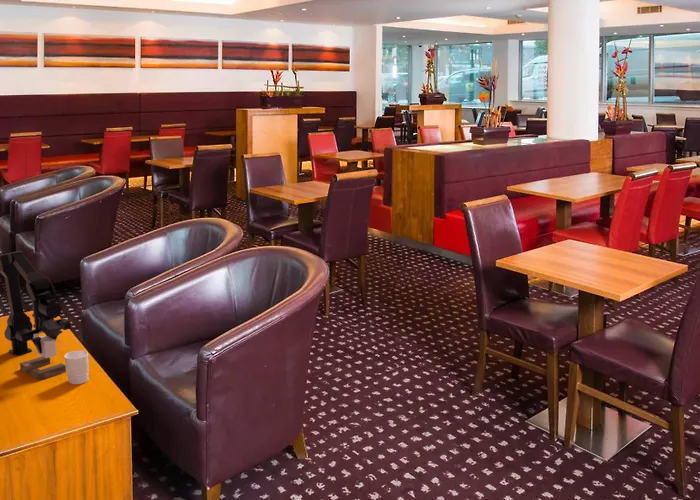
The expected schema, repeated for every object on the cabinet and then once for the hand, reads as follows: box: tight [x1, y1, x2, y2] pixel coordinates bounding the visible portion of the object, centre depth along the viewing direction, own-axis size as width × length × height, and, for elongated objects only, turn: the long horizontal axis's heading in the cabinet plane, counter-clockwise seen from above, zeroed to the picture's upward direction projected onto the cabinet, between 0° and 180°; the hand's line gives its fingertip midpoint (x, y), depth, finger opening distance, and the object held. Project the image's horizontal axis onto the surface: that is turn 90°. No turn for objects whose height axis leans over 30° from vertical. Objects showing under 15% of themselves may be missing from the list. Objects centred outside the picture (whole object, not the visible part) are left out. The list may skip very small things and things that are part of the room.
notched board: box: [19, 355, 67, 381], centre depth 267 cm, size 14×10×2 cm
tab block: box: [35, 334, 58, 358], centre depth 267 cm, size 7×4×6 cm, turn 50°
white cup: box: [63, 350, 90, 385], centre depth 258 cm, size 8×8×10 cm
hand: (46, 351), depth 267 cm, fingers closed on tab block, 4 cm apart
